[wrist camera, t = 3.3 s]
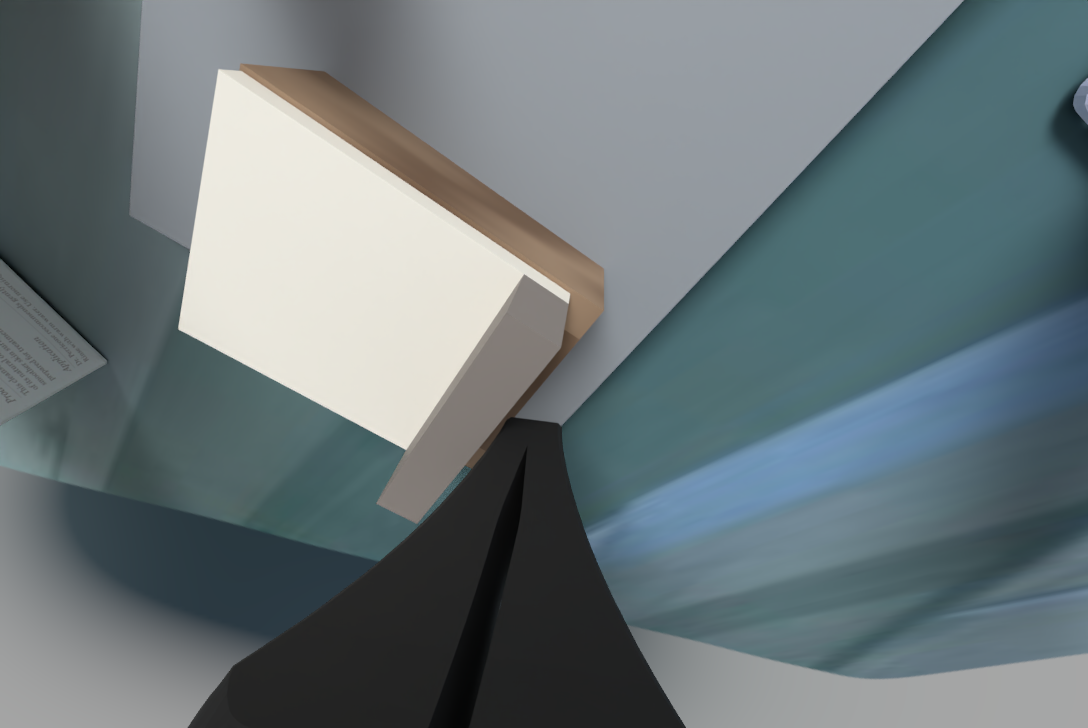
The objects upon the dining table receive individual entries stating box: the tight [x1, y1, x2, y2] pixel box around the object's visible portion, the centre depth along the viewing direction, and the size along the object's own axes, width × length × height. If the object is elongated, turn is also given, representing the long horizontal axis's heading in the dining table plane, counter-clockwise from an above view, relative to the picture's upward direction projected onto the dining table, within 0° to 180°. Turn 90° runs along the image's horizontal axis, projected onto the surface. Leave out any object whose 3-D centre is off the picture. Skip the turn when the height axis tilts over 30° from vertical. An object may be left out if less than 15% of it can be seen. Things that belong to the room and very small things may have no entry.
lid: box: [178, 69, 570, 523], centre depth 10 cm, size 8×7×3 cm
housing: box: [239, 63, 604, 469], centre depth 12 cm, size 9×7×3 cm
